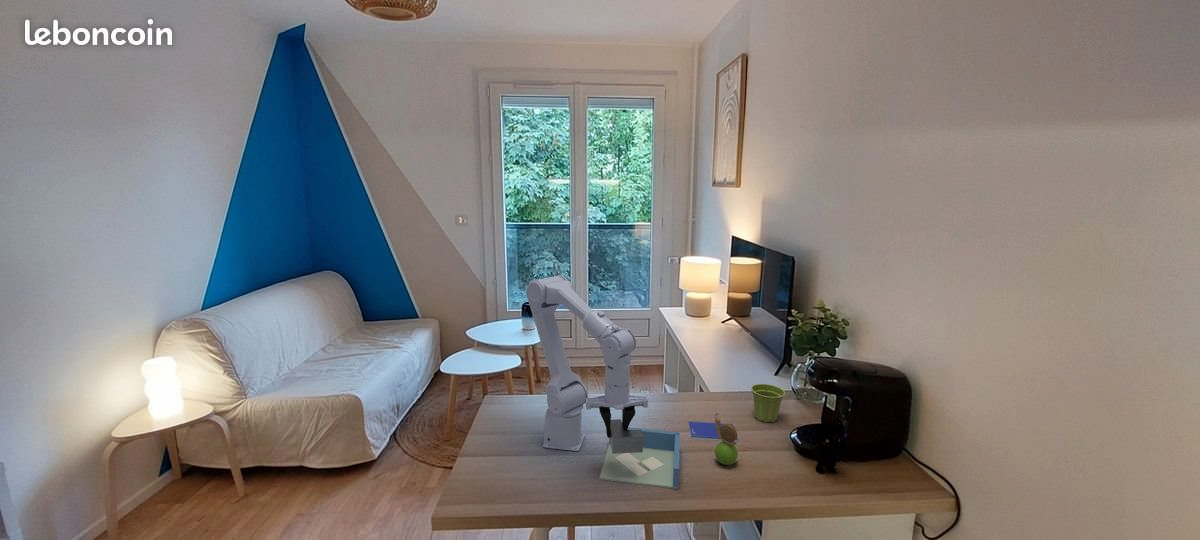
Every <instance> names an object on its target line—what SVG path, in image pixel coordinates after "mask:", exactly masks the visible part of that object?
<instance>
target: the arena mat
mask: <svg viewBox="0 0 1200 540" xmlns="http://www.w3.org/2000/svg"><path fill="white" fill-rule="evenodd" d="M607 446H608V447H607V449H606V450H607V451H606V454H605V457H604V459H603V460H604V461H603V464H602V467H601V471H600V474H599V477H598V479H599V480H600V481H601V480H603V481H611V482H617V483H619V482H620V483H625V484H626V483H627V484H634V485H642V486H651V487H657V488H658V487H659V488H666V489H667V488H668V489H675V488H676V487H673V468H674V451H669V450H660V449H651V448H643V452H640V453H617V454H612V449H611V445H610V444H609V443H608V445H607ZM678 489H679V486H678V487H677V489H676V490H678Z"/></svg>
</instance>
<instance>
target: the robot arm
mask: <svg viewBox="0 0 1200 540" xmlns="http://www.w3.org/2000/svg"><path fill="white" fill-rule="evenodd" d="M525 290H526V291H525V295H526V297H527V301H528V304H529V307H530V311H531V314H532V319H533V322H534V324H535V328H536V331H537V334H538V337H539V341H540V344H541V347H542V351H543V354H544V357H545V360H546V364H547V367H548V371H549V374H550V379H549V381H548V383H547V385H546V387H545V392H546V404H547V406H548V407H547V409H546V412H545V414H544V419H543V445H542V446H543V448H547V449H554V450H555V449H556V450H564V451H572V452H579V451H580V450H581V446H582V445H583V442H584V439H585V437H586V434H585V433H582V410H583V409H584V405H585V408H586V409H585V410H591V409H598V410H599V414H600V417H601V418H602V420H603V422H604V423H603V424H604V426H605V429H606V437H607V438H608V439H609V438H610V435H611V430H610V423H611V420H612V413H611V408H612V409H614V410H617V411H619V410H622V412H621V415H622V416H621V422H622V425H623V429H624V430H627V429H628V427H629V426H630V423H631V422H632V420H633V419H634V417H635V416H636V408H637V407H643V408H645V409H646V408H649V399H648V398H647V396H644V395H633V394H630V388H631V387H630V385H631V384H630V383H631V355H632V354H631V353H633V352H634V351H635V350H636V347H637V340H636V337H635V335H634V334H633V332H632V331H631V330H630V329H629V328H622V327H621V326H618V324H615V323H614V322H613V321H612V320H611V319H610V318H608V316H606V313H605V312H604V311H603V310H599V309H596V310H594V309H593V310H592V308H590V306H589V305H588V304H587V303H586V302H585V300H583V299H582V298H581V297H580V296H579V295H578V293H577V292H576V291H575V289H573V287H572V282H571V281H569V280H568V279H567V278H566V277H565V276H564V275H562V274H558V275H555V276H549V277H545V278H538V279H537V278H536V279H531V280H530V281H529V283H528V285H527V288H526V289H525ZM560 305H562V306H563V307H565V308H566V309H567V310H568V311H570V313H572V314H573V315H574V316H576V317H577V318H578V319H579V320H581V321H582V327H583V328H582V329H583V330H585V331H586V332H587V333H588V334H589V335H590V336H591V337H592V338H593V339H595V341H596V342H597V343H598V344H599V345H600V350H601V353H602V356H603V362H604V364H605V374H604V377H605V380H604V395H600V396H595V397H590V398H589V392H588V390H587V387H586V385H585V384H584V382H583V381H582V377H581V375H579V374H577V373H575V372H573V371H572V369H571V366H570V361H569V359H568V356H567V353H566V348H565V346H564V343H563V339H562V336H561V333H560V330H559V327H558V324H557V320H556V317H555V312H556V311H557V309H558V307H559V306H560Z"/></svg>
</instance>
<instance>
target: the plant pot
mask: <svg viewBox="0 0 1200 540" xmlns="http://www.w3.org/2000/svg"><path fill="white" fill-rule="evenodd" d="M750 391H751V392H752V395H753V408H754V409H753V411H754V417H755V418H756V419H757V420H759V421H761V422H764V423H770V422H772V423H774V422H777V419H778V414H779V410H780V407H781V403H782V400H783V399H784V397H785V396H786V391H785V390H784V389H783V388H781V387H779V386H777V385H773V384H769V383H756V384H755V383H754V384H753V385H751V387H750Z"/></svg>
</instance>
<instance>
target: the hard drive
mask: <svg viewBox="0 0 1200 540" xmlns="http://www.w3.org/2000/svg"><path fill="white" fill-rule="evenodd" d="M724 424H725V423H720V427H721V426H722V425H724ZM729 424H730V425H732V426H733V427H734V424H733V423H729ZM687 426H688V432H689V437H690V439H691V440H698V439H699V440H700V441H714V440H719V442H723V441H722V440H721V439H720V438H719V437H718V435H717V431H716V423H715V422H703V421H702V422H701V421H690V420H689V421H688V422H687ZM734 442H736V443H737V442H739V439H738V437H737V438H736V440H735V441H734Z"/></svg>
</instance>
